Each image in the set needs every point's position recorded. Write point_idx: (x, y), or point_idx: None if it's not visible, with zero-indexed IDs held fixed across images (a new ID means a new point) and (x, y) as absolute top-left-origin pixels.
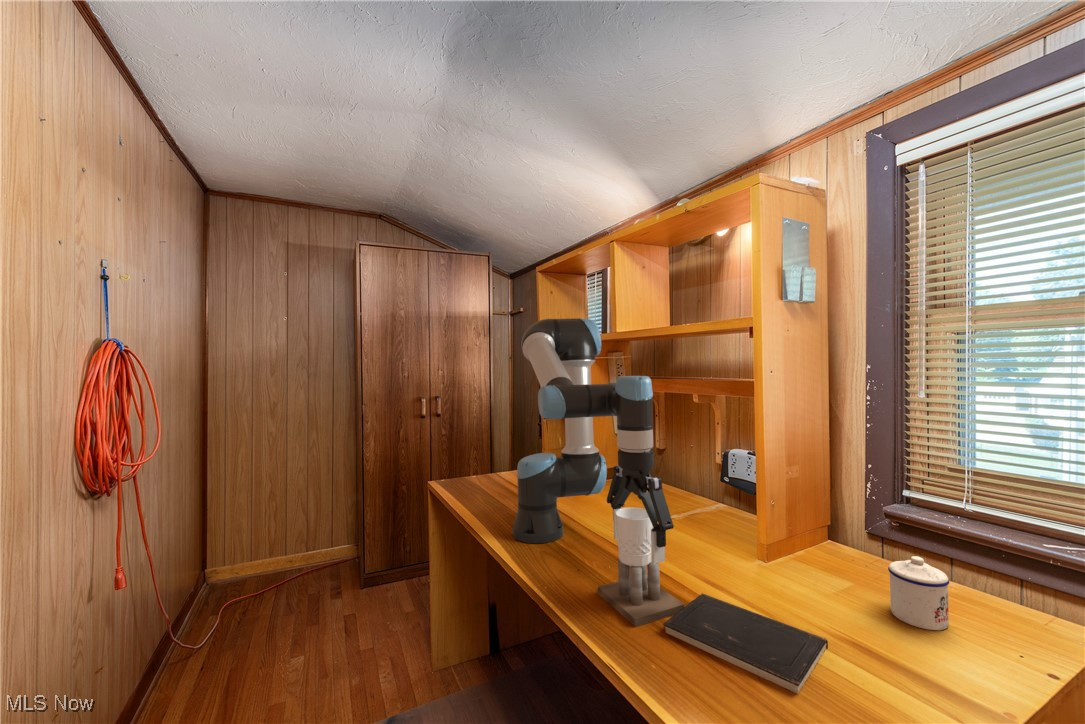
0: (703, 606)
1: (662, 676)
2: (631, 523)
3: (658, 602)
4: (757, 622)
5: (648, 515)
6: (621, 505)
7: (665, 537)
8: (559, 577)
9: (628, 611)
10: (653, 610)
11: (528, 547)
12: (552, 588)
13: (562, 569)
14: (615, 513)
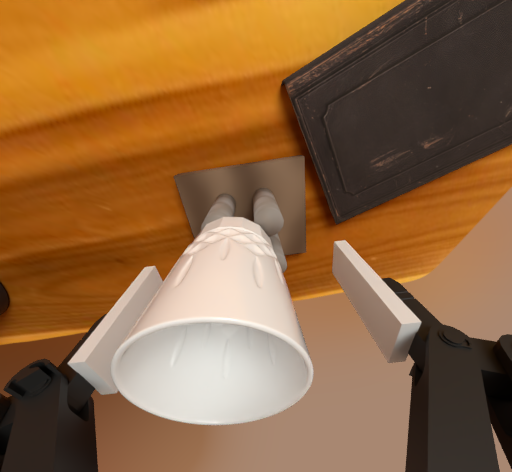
0: (331, 123)
1: (391, 257)
2: (286, 385)
3: (280, 199)
4: (439, 37)
5: (410, 440)
6: (67, 389)
7: (418, 303)
8: None
9: (284, 252)
10: (298, 218)
11: (28, 306)
12: None
13: (118, 281)
14: (197, 423)
